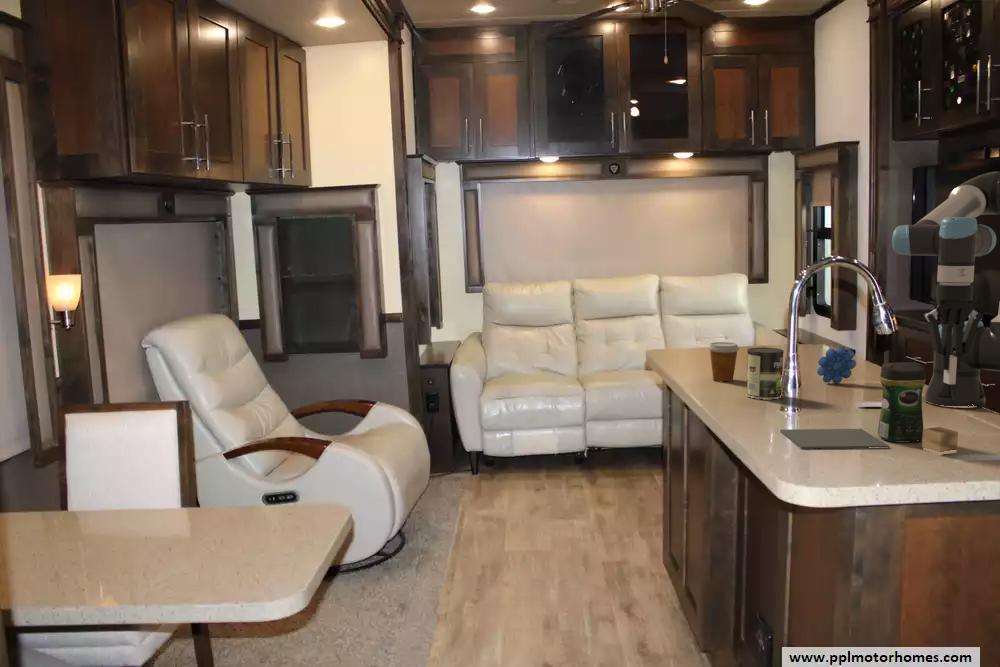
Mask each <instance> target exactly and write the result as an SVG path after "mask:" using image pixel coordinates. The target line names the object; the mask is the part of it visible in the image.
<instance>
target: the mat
mask: <svg viewBox="0 0 1000 667" xmlns="http://www.w3.org/2000/svg"><path fill="white" fill-rule="evenodd" d="M780 434H782V435H783V436H785V438H787V439H788V440H790V442H792V443H793V444H794V443H795V444H794V445H795V446H797V447H798V446H799V447H800V449H801V450H809V449H808V448H812V449H811V450H814V449H813V448H816V449H815V450H818V449H817V448H869V447H889V448H890V445H889V444H887V443H885V442H884V441H882V440H880V439H879V438H878V437H876V436H875V435H872V434H870V433H869V432H867V431H865V430H864V429H862V428H825V429H824V428H813V429H812V428H809V429H807V428H806V429H805V428H804V429H803V428H802V429H801V428H799V429H798V428H797V429H795V428H793V429H789V428H788V429H780ZM799 447H798V448H799Z"/></svg>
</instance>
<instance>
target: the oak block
mask: <svg viewBox="0 0 1000 667" xmlns="http://www.w3.org/2000/svg"><path fill="white" fill-rule="evenodd" d="M958 440H959V431H956V430H952V429H949V428H945V427H943V426H937V427H929V428H927V427H926V428H923V437H922V440H921V448H922V447H923V448H927V449H931V450H934V451H937V452H944V451H950V450H956V449H957V450H958V442H959V441H958Z"/></svg>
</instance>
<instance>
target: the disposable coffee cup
mask: <svg viewBox="0 0 1000 667" xmlns="http://www.w3.org/2000/svg"><path fill="white" fill-rule="evenodd" d="M708 349H709V352H710V353H709V354H710V361H711V363H710V364H711V372H712V380H713V381H714V380H716V381H715V382H718V381H731V382H733V381H734V377H735V376H734V375H735V371H736V363H737V355H738V351H739V346H738V343H735V342H727V341H716V342H710V344H709V347H708ZM732 380H733V381H732Z"/></svg>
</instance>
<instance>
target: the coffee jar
mask: <svg viewBox="0 0 1000 667" xmlns="http://www.w3.org/2000/svg"><path fill="white" fill-rule="evenodd" d="M880 370H881V371H880V376H879V380H880V383H881V386H882V397H881V398H882V399H881V400H882V401H881V407H880V415H879V422H878V429H877V435H878V436H879V438H880V437H881V438H880V439H882V440H883V439H884V441H889V442H892V441H915V442H918V441H917V440H921V441H922V437H923V429H924V419H923V417H924V416H923V402H922V401H923V389H924V387H925V384H926V381H927V380H926V369H925V366H924V365H923V364H920V363H918V362H886V363H884V362H883V363H882V366H881V368H880Z"/></svg>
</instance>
